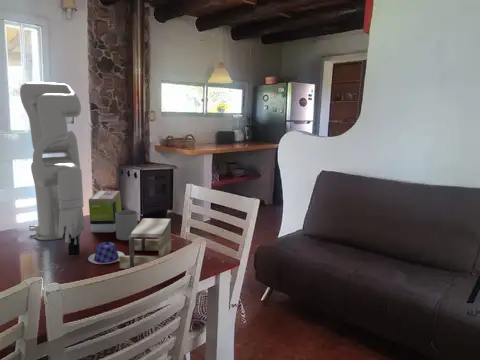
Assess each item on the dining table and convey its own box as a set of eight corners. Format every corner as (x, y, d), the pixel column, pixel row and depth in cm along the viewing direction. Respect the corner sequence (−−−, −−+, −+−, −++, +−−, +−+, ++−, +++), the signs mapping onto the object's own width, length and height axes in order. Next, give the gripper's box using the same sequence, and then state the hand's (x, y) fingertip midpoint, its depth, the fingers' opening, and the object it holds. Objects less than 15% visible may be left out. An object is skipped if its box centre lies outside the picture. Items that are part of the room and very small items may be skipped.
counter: (119, 268, 125) (118, 233, 123) (133, 249, 143) (132, 217, 140) (162, 269, 126) (162, 234, 123) (171, 249, 143) (170, 218, 141)
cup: (140, 233, 160) (140, 210, 158) (133, 240, 152) (132, 216, 150) (121, 232, 160) (120, 209, 159) (112, 239, 152) (111, 215, 151)
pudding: (129, 261, 132) (129, 246, 132) (93, 268, 126) (92, 253, 125) (118, 250, 142) (117, 236, 141) (84, 256, 135) (83, 242, 134)
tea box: (99, 222, 175) (98, 190, 172) (122, 222, 175) (121, 190, 173) (89, 232, 160) (88, 198, 157) (114, 232, 161) (113, 198, 158)
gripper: (69, 197, 137) (72, 246, 141) (49, 208, 123) (53, 262, 126) (90, 198, 137) (93, 247, 141) (73, 209, 123) (76, 263, 126)
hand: (74, 254), depth 133 cm, fingers closed
